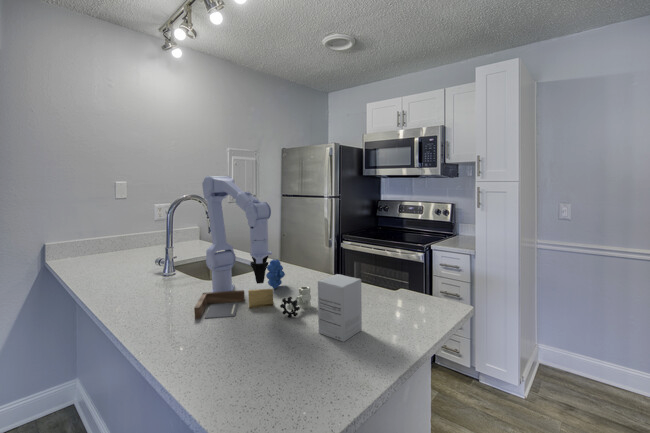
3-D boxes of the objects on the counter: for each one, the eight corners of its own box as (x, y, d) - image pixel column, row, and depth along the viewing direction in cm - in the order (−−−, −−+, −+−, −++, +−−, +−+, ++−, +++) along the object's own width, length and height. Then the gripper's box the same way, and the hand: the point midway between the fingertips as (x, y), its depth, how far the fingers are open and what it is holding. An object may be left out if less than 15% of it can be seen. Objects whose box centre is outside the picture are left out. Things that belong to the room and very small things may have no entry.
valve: (299, 303, 113) (280, 316, 103) (299, 284, 113) (279, 295, 102) (316, 306, 110) (298, 320, 100) (316, 287, 110) (298, 299, 99)
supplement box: (337, 322, 98) (336, 273, 96) (362, 330, 92) (362, 278, 91) (317, 333, 91) (316, 280, 89) (343, 342, 85) (343, 286, 84)
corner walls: (203, 302, 115) (203, 292, 114) (244, 299, 117) (244, 290, 117) (194, 318, 101) (194, 307, 101) (241, 315, 103) (241, 304, 103)
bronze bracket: (249, 308, 109) (248, 291, 108) (249, 303, 114) (249, 286, 113) (273, 306, 110) (272, 289, 110) (273, 301, 115) (272, 284, 115)
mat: (210, 305, 112) (210, 304, 112) (237, 303, 113) (237, 302, 113) (204, 318, 101) (204, 317, 101) (234, 316, 102) (234, 315, 102)
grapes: (278, 294, 122) (278, 262, 121) (262, 292, 124) (261, 261, 123) (291, 284, 133) (290, 255, 132) (276, 283, 135) (275, 254, 134)
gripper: (271, 242, 101) (272, 285, 103) (271, 235, 116) (272, 273, 117) (248, 243, 100) (249, 287, 102) (250, 236, 114) (252, 274, 116)
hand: (260, 279), depth 109 cm, fingers open, 7 cm apart
